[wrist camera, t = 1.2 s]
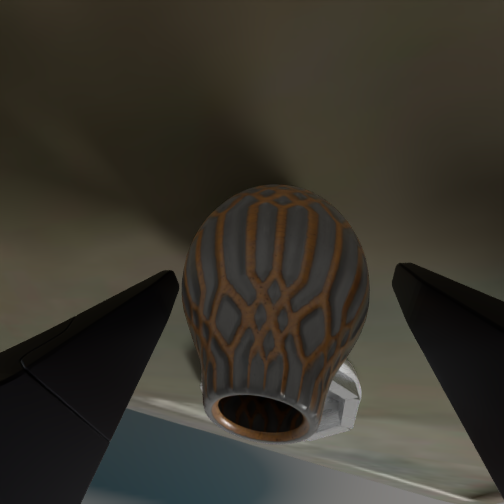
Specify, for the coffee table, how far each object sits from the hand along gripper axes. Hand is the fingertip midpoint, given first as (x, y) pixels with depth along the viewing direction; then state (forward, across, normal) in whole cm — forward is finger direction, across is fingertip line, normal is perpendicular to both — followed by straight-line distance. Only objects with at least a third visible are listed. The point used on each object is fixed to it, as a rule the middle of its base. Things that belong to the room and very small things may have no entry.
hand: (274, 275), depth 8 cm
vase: (+4, 0, 0) cm, 4 cm away
